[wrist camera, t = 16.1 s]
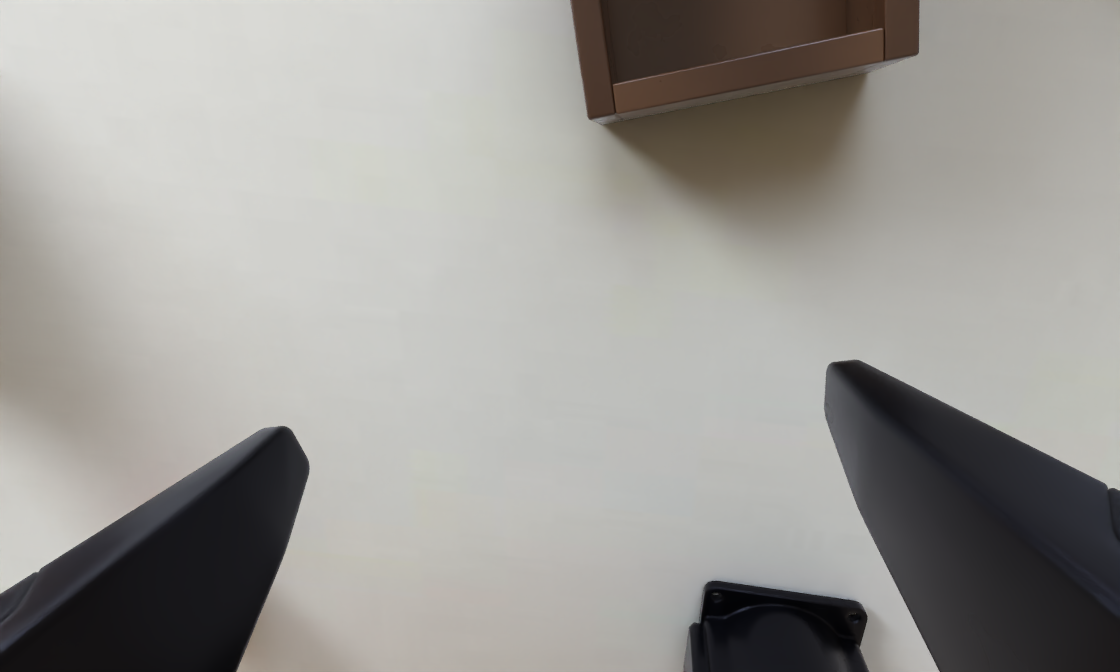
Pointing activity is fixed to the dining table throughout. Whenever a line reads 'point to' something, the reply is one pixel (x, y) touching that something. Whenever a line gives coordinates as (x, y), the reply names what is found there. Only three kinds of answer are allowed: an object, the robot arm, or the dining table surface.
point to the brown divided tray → (728, 48)
